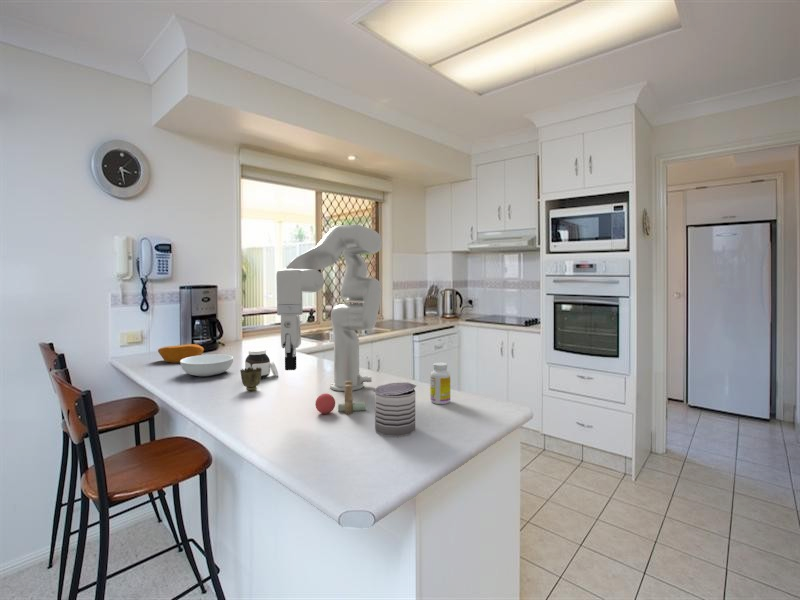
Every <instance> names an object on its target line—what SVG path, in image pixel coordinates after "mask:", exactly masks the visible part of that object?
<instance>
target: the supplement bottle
mask: <svg viewBox="0 0 800 600" xmlns="http://www.w3.org/2000/svg"><path fill="white" fill-rule="evenodd" d="M432 368H433V371H432V370H431V372H430V375H429V376H430V385H429V386H430V388H429V389H430V390H429V391H430V395H429V397H430V402H431V404H437V405H447V404H449V403H450V402H451V373H450V372H449V371H448V370H447V369H448V363H446V362H435V363H434V362H433V365H432Z"/></svg>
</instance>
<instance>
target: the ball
mask: <svg viewBox="0 0 800 600" xmlns="http://www.w3.org/2000/svg"><path fill="white" fill-rule="evenodd" d="M335 407H336V399H335V398H334V396H333V395H331V394H330V393H322V394H320V395H319V396H317V398H316V400H315V408H316V411H318V412H319V413H320V414H322V415H323V414H324V415H325V414H329V413H330V414H331V412H332V411H334V409H335Z"/></svg>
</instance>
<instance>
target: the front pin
mask: <svg viewBox="0 0 800 600" xmlns="http://www.w3.org/2000/svg"><path fill="white" fill-rule="evenodd" d="M337 405H338V406H337V409H338V412H345V402H344V403H338V404H337ZM358 411H359V412H360V411H367V404H366V402H353V412H358Z"/></svg>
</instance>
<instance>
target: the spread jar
mask: <svg viewBox="0 0 800 600" xmlns="http://www.w3.org/2000/svg"><path fill="white" fill-rule="evenodd" d="M244 367H245V368H246V369H248V368H249V367H250V368H252V367H253V369H256V368H257V367H258V368H262V372H261V380H263V378H264V379H266V378H268V377H269V376H270V374H271V373H272V375H273V376H274V377H277V376H279V371H278V369H277V366H276V364H275V362H274V361H273V360H271V359H270V358H269V356H268V355H267V349H266V348H252V349H249V350H248V355H247V356H246V358H245V361H244ZM245 368H244V369H245Z"/></svg>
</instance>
